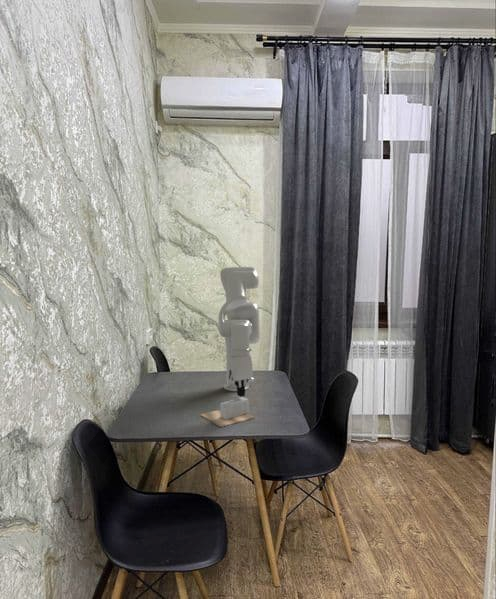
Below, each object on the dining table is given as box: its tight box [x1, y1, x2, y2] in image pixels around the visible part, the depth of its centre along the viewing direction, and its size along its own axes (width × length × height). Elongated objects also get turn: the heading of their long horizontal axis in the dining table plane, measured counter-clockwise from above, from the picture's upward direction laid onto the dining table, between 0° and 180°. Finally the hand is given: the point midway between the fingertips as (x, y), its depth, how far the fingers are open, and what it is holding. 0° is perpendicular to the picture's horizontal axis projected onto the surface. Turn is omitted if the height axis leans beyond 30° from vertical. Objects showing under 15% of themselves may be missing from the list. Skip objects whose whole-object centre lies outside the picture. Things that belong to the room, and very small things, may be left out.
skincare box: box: [219, 396, 250, 420], centre depth 185 cm, size 6×4×12 cm
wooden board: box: [200, 409, 255, 428], centre depth 184 cm, size 16×16×1 cm
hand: (241, 395), depth 187 cm, fingers closed
